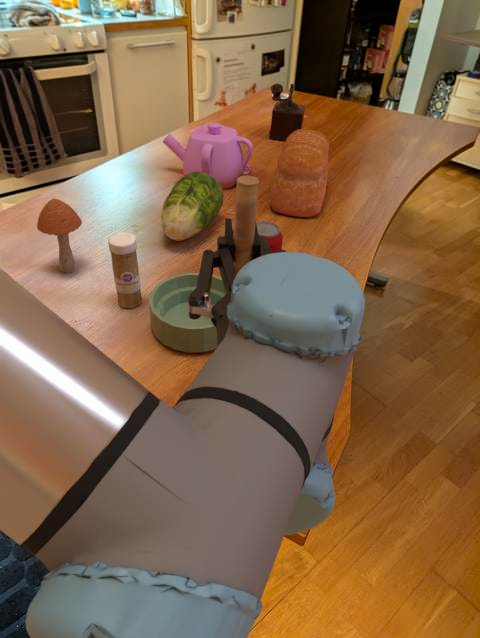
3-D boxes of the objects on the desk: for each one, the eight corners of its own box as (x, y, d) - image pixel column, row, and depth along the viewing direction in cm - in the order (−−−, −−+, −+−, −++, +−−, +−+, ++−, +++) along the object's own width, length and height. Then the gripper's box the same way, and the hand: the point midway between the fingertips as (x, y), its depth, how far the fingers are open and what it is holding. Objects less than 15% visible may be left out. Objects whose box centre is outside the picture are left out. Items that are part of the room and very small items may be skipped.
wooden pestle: (223, 330, 61) (229, 188, 48) (221, 309, 64) (226, 171, 51) (256, 330, 61) (270, 188, 49) (253, 309, 65) (265, 172, 52)
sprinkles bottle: (122, 312, 83) (113, 247, 74) (114, 298, 86) (103, 234, 77) (146, 304, 85) (140, 241, 76) (137, 291, 88) (129, 228, 79)
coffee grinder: (271, 129, 163) (276, 73, 151) (302, 132, 162) (309, 76, 150) (264, 144, 151) (269, 84, 140) (298, 148, 150) (306, 88, 138)
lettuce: (148, 249, 99) (144, 200, 92) (181, 207, 114) (180, 163, 107) (199, 258, 97) (199, 210, 90) (226, 215, 113) (227, 170, 105)
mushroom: (79, 253, 96) (65, 185, 87) (97, 271, 92) (84, 201, 82) (42, 265, 92) (23, 196, 83) (58, 284, 88) (40, 213, 78)
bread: (266, 214, 114) (271, 153, 104) (280, 173, 134) (286, 119, 124) (320, 222, 112) (331, 161, 102) (327, 179, 132) (337, 125, 122)
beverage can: (282, 279, 93) (290, 226, 85) (267, 295, 89) (273, 241, 81) (253, 268, 96) (258, 216, 88) (237, 284, 91) (240, 230, 83)
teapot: (259, 184, 127) (263, 130, 118) (191, 197, 119) (190, 141, 109) (226, 159, 140) (227, 109, 130) (162, 170, 131) (158, 118, 122)
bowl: (149, 357, 74) (146, 329, 71) (154, 299, 86) (152, 272, 82) (242, 355, 76) (244, 327, 72) (235, 298, 87) (236, 272, 84)
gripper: (175, 384, 44) (180, 252, 62) (333, 381, 45) (294, 252, 63) (172, 325, 39) (179, 200, 57) (349, 323, 40) (302, 202, 58)
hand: (239, 228), depth 60 cm, fingers closed on wooden pestle, 2 cm apart
